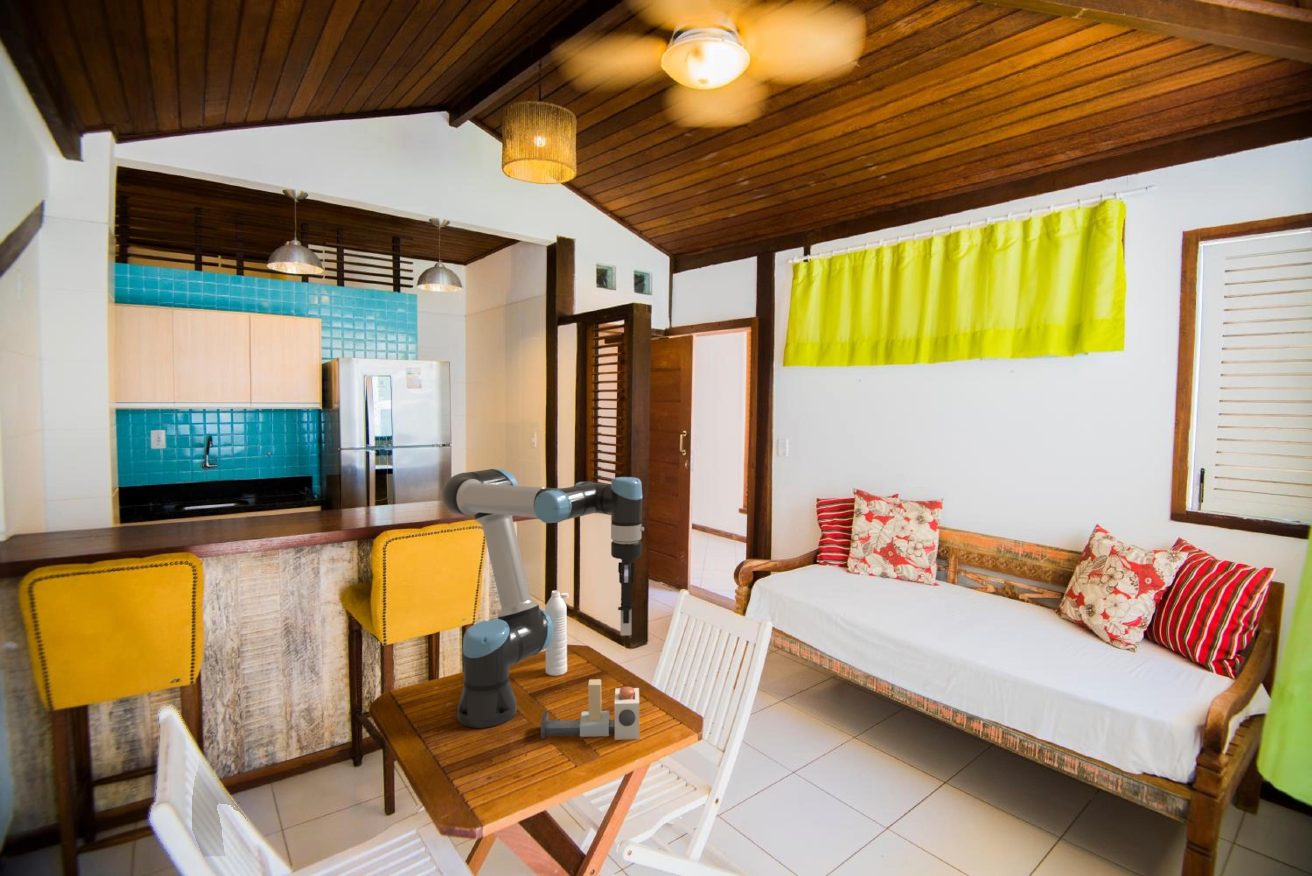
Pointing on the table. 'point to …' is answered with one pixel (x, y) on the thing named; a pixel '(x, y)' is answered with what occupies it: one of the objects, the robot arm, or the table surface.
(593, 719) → the carriage
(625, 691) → the button
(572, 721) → the rail
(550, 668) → the water bottle
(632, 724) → the grey box housing
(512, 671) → the table surface
